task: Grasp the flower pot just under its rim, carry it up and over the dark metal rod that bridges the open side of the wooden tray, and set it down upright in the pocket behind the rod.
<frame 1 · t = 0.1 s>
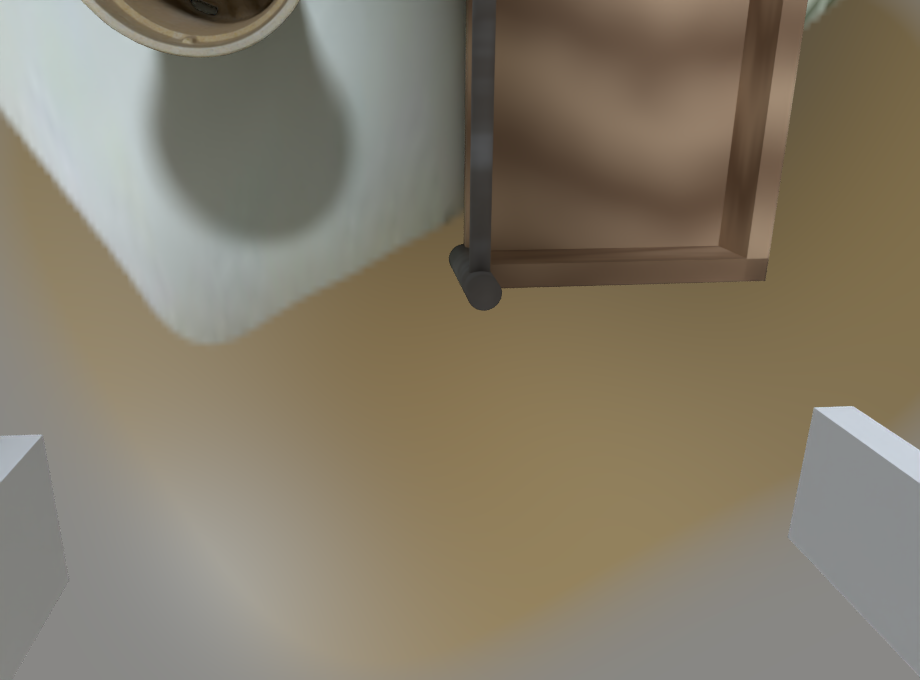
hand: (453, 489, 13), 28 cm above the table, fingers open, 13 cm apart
wooden tray: (616, 30, 37), on the table
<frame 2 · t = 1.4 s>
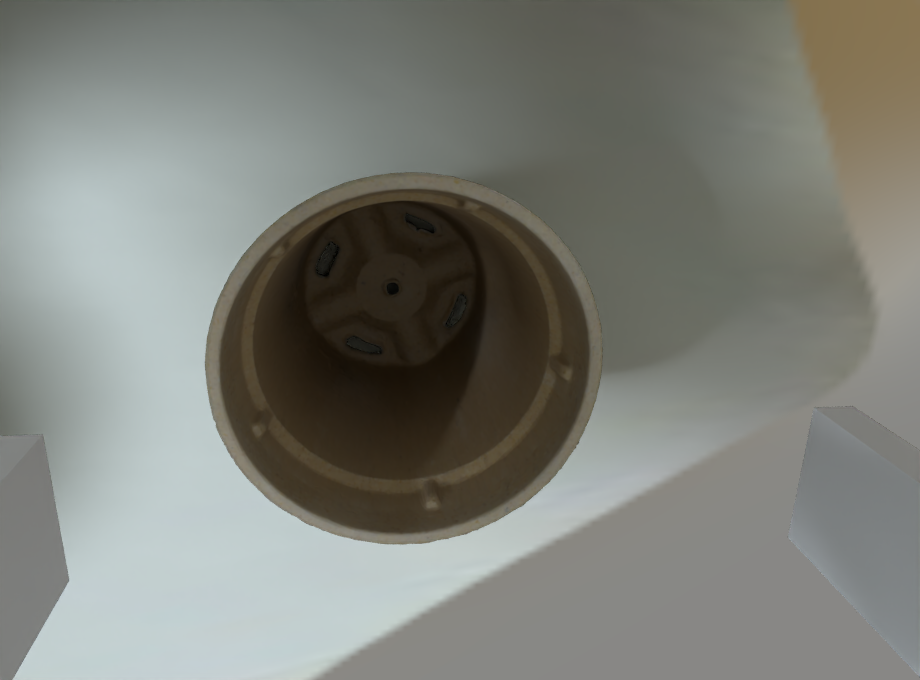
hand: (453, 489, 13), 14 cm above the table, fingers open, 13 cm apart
flower pot: (390, 280, 26), on the table
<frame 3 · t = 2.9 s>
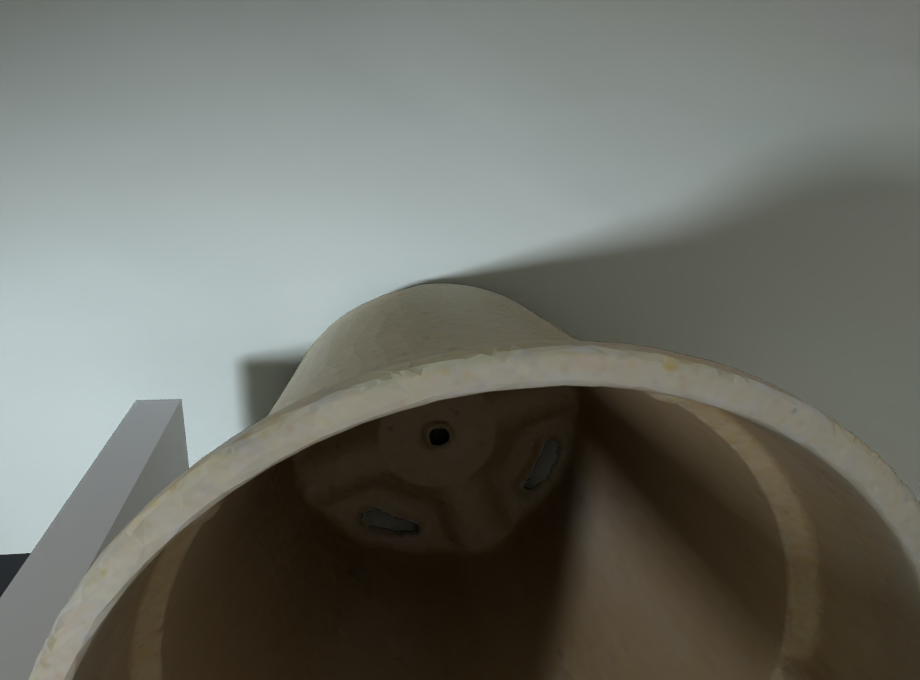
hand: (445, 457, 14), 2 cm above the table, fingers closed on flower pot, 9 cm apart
flower pot: (434, 416, 15), on the table, touching gripper
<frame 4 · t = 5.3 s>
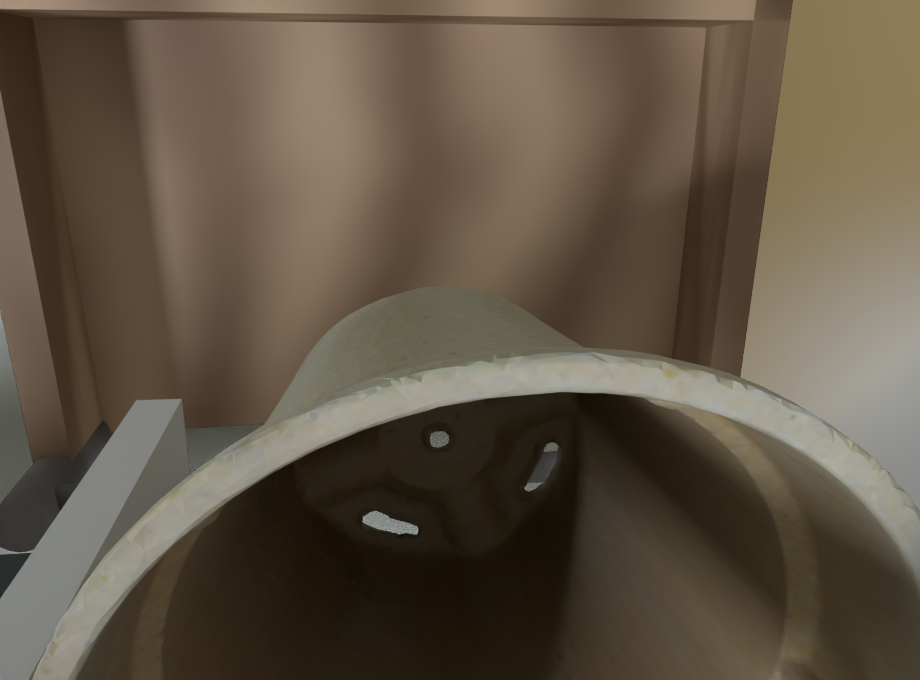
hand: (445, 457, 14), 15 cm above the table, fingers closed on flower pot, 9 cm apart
flower pot: (434, 418, 16), point 13 cm above the table, touching gripper
wooden tray: (393, 216, 27), on the table
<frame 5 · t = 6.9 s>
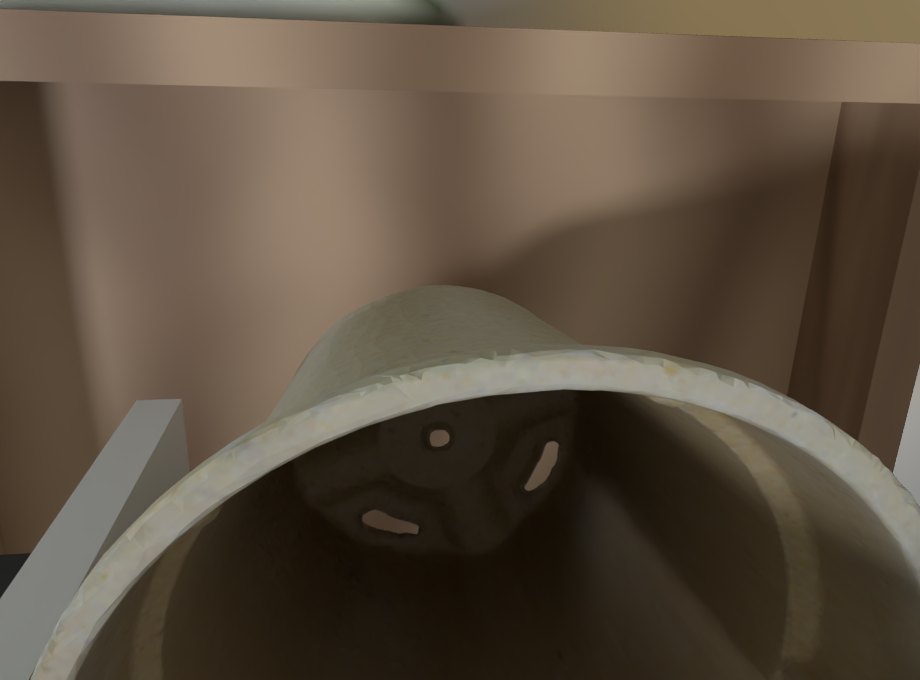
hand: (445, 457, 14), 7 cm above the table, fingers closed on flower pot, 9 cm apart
flower pot: (434, 417, 15), point 5 cm above the table, touching gripper
wooden tray: (411, 338, 20), on the table
when the fingers open (4 cm above the table, at t = 8.0 s): flower pot drops 2 cm, resting on wooden tray.
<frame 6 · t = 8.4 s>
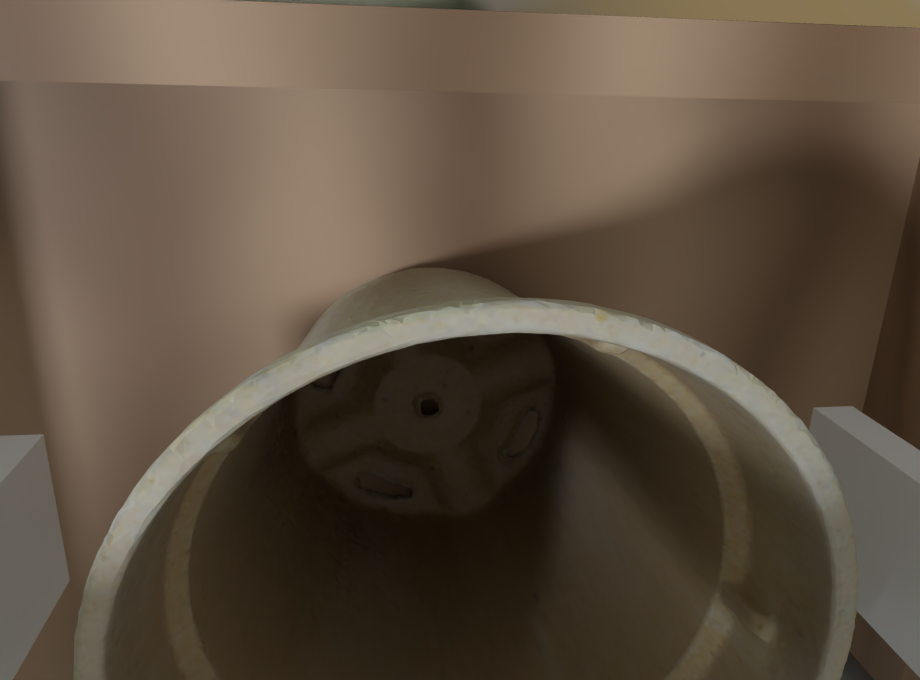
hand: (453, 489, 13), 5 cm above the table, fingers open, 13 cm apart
flower pot: (425, 389, 17), point 1 cm above the table, touching wooden tray
wooden tray: (426, 376, 18), on the table
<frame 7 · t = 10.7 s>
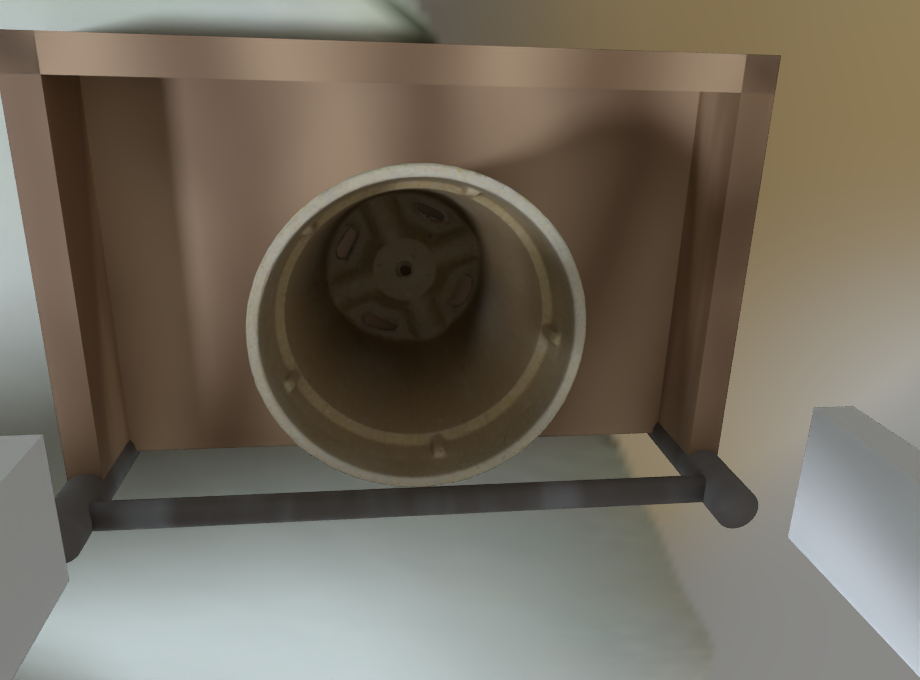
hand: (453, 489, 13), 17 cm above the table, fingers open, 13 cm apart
flower pot: (403, 263, 29), point 1 cm above the table, touching wooden tray
wooden tray: (404, 257, 29), on the table
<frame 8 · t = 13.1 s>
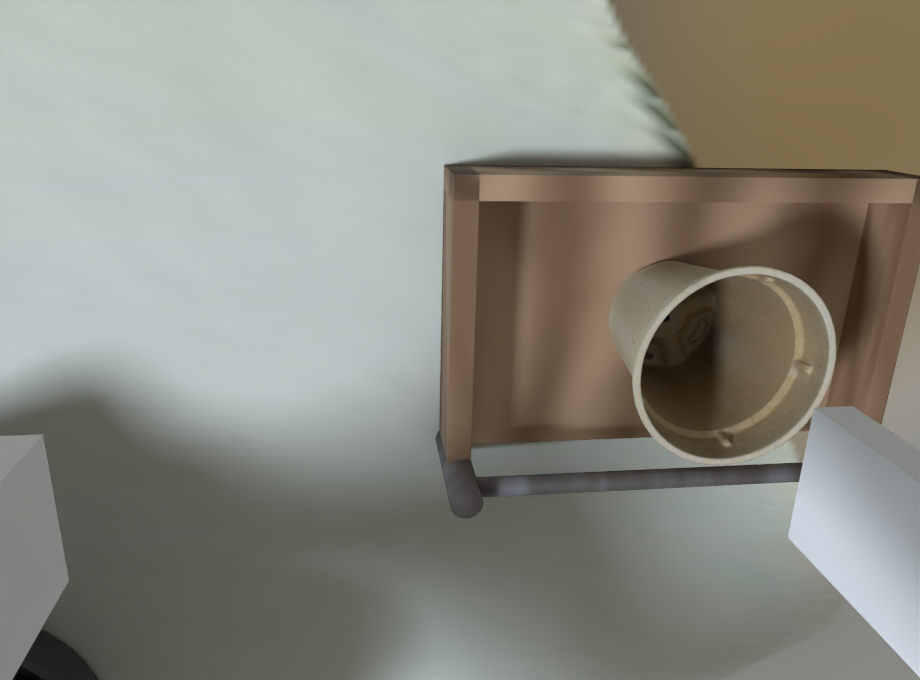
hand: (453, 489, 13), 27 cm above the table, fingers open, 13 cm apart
flower pot: (660, 312, 41), point 1 cm above the table, touching wooden tray
wooden tray: (657, 307, 41), on the table
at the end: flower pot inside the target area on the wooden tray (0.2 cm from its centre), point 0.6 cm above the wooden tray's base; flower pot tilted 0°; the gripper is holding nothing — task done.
